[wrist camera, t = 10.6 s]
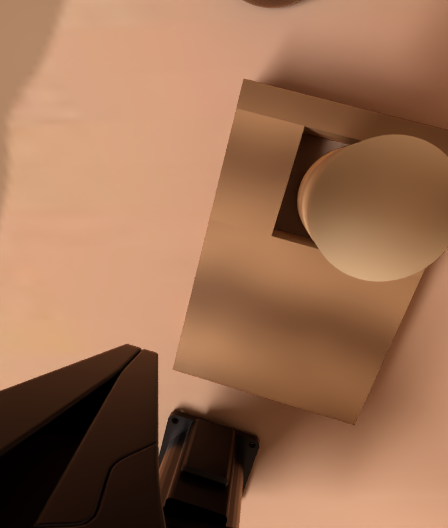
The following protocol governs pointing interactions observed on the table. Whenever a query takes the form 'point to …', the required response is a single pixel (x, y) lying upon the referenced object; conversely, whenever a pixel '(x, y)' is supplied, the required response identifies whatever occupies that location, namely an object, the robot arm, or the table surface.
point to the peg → (378, 206)
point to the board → (288, 269)
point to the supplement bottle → (272, 3)
